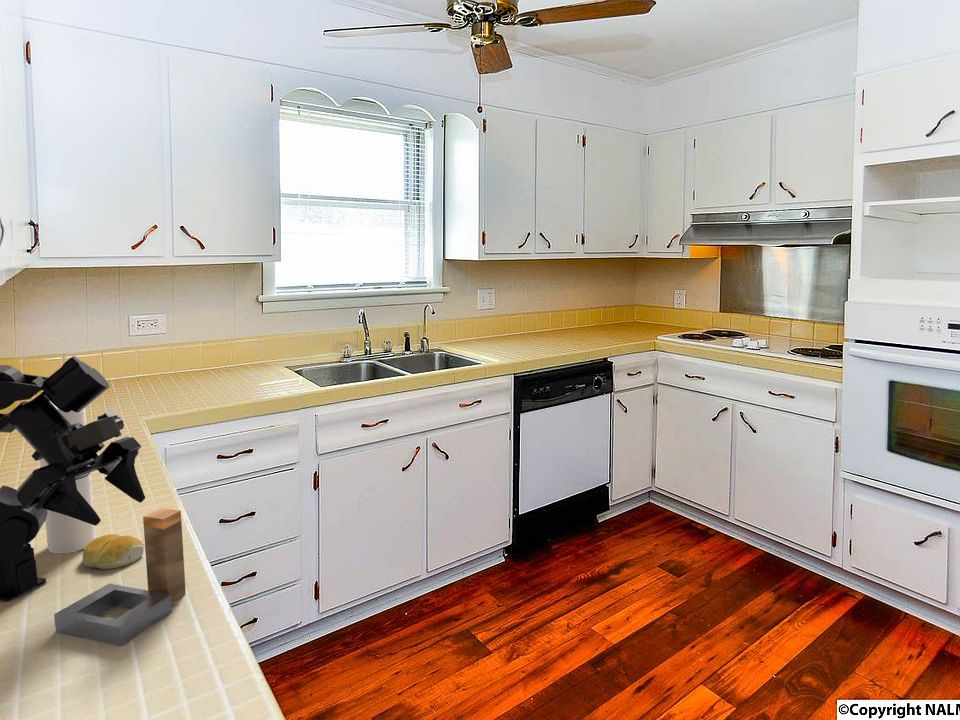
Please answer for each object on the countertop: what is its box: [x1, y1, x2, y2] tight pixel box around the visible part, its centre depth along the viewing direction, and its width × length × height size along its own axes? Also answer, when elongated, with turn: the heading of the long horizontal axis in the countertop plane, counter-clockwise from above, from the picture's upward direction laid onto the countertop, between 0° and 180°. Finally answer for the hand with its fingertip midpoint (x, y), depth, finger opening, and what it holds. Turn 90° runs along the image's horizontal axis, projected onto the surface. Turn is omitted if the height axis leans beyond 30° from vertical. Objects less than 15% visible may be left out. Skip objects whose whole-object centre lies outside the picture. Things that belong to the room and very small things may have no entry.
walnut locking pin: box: [142, 507, 186, 603], centre depth 97 cm, size 4×4×13 cm
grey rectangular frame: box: [53, 583, 173, 647], centre depth 92 cm, size 11×9×2 cm
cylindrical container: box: [39, 401, 97, 554], centre depth 114 cm, size 7×7×25 cm
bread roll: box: [82, 533, 145, 570], centre depth 111 cm, size 8×9×4 cm
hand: (121, 511), depth 98 cm, fingers open, 9 cm apart
